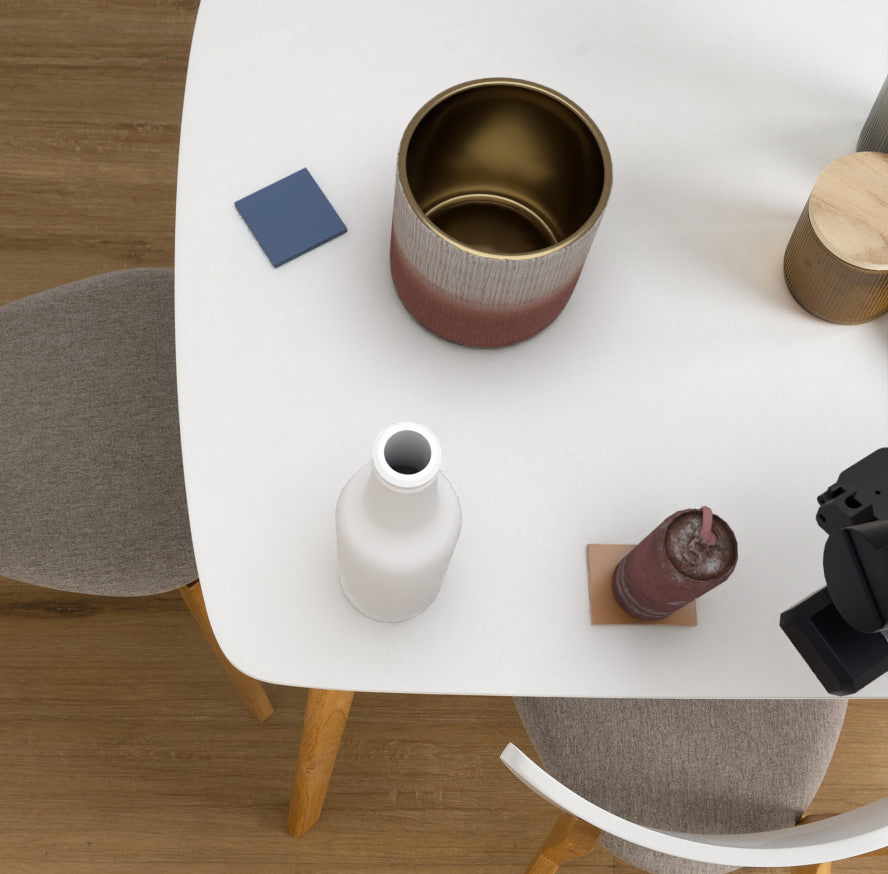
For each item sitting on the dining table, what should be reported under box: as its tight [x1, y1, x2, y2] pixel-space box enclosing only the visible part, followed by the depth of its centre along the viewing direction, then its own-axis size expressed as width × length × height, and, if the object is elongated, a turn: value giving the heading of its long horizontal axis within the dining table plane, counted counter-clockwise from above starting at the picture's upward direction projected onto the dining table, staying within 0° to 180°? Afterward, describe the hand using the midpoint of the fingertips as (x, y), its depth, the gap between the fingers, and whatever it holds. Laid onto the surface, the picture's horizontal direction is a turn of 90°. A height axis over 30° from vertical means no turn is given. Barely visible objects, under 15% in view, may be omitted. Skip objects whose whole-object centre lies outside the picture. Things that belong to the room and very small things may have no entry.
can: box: [613, 505, 739, 621], centre depth 76 cm, size 6×6×14 cm
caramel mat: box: [586, 543, 699, 627], centre depth 83 cm, size 9×7×1 cm
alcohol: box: [334, 421, 463, 623], centre depth 69 cm, size 9×9×30 cm
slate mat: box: [233, 166, 348, 269], centre depth 93 cm, size 8×8×1 cm
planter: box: [389, 76, 614, 348], centre depth 85 cm, size 18×18×16 cm
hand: (858, 607), depth 70 cm, fingers open, 9 cm apart
